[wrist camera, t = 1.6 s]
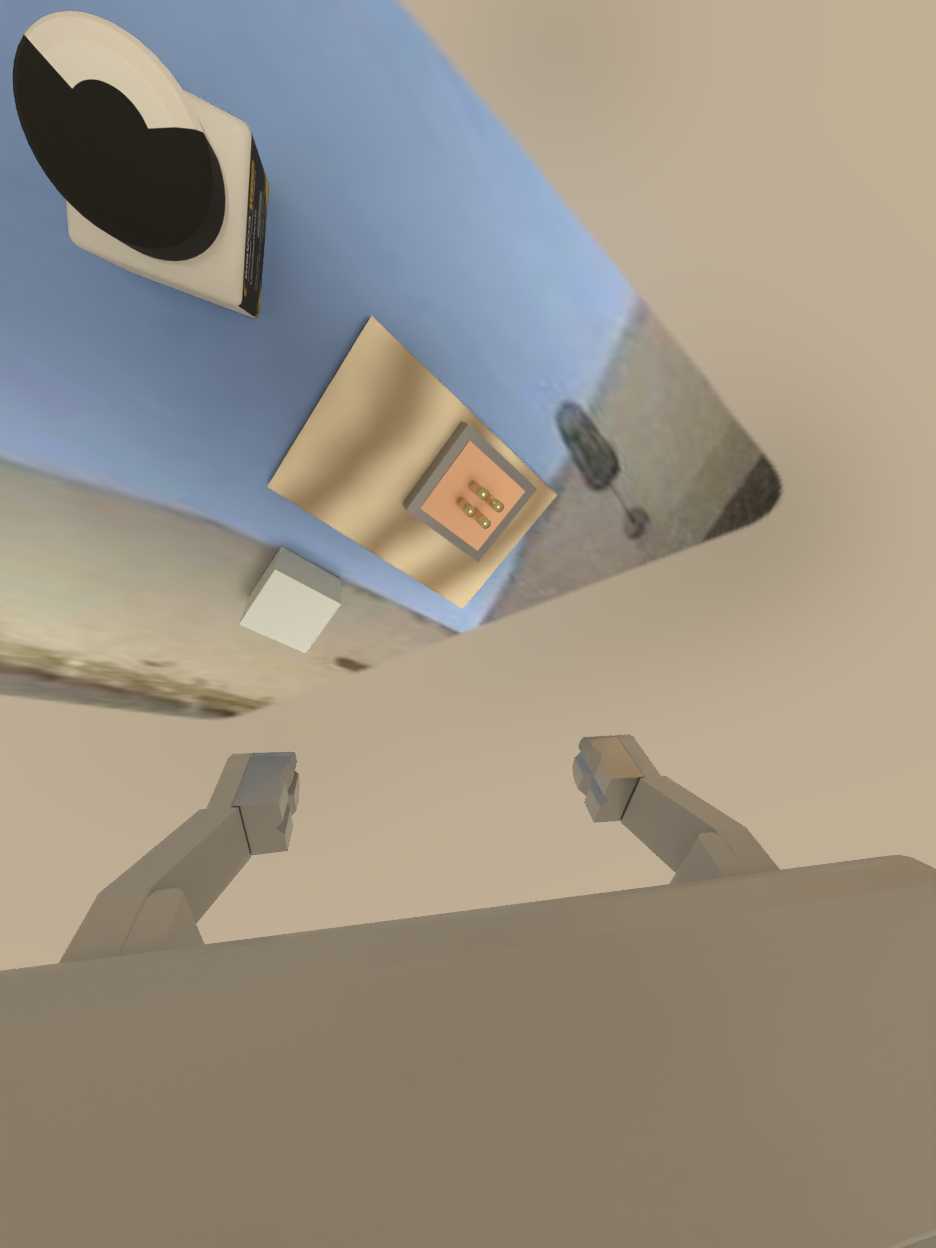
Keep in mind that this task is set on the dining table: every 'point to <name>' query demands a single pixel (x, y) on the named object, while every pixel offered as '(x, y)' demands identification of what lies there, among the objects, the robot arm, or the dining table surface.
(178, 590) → the dining table surface
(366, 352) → the board
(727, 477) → the dining table surface
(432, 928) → the robot arm
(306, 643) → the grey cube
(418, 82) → the dining table surface
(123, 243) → the medicine bottle
